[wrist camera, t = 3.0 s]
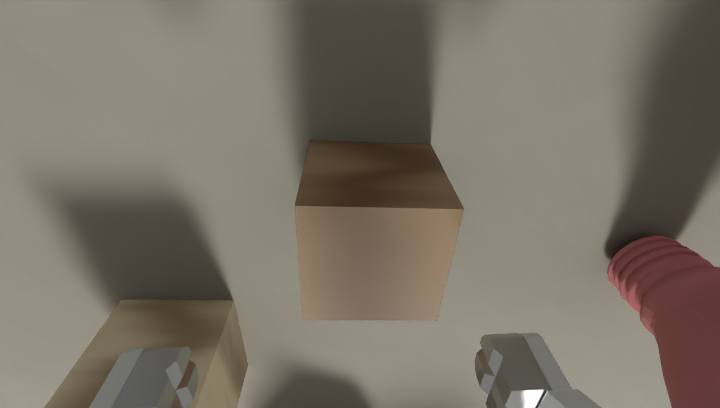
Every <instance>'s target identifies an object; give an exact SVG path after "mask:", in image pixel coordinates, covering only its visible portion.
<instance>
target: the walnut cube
mask: <svg viewBox="0 0 720 408" xmlns="http://www.w3.org/2000/svg"><path fill="white" fill-rule="evenodd" d="M463 212H464V208H463V206H462V204H461V202H460V200H459V198H458V196H457V194H456V193H455V191H454V189H453V187H452V185H451V183H450V181H449V179H448V177H447V175H446V173H445V171H444V169H443V167H442V165H441V163H440V161H439V159H438V158H437V156H436V154H435V152H434V150H433V148H432V146H431V144H404V143H370V142H336V141H310V143H309V148H308V152H307V156H306V160H305V164H304V169H303V173H302V177H301V181H300V185H299V190H298V194H297V198H296V202H295V218H296V232H297V247H298V262H299V276H300V291H301V305H302V320H434V321H437V318H438V313H439V309H440V305H441V301H442V297H443V293H444V289H445V285H446V281H447V277H448V273H449V269H450V265H451V261H452V256H453V252H454V248H455V244H456V240H457V236H458V232H459V228H460V224H461V220H462V216H463Z"/></svg>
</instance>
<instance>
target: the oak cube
mask: <svg viewBox="0 0 720 408" xmlns="http://www.w3.org/2000/svg"><path fill="white" fill-rule="evenodd" d="M176 346H188V347H189V349H190V351H191V353H192V354H191V357H190V359H189V360H191V361H192V362H194V363H196V366H197V368H198V384H197V390H196V393H195V396H194V399H193V400H192V401H191V402H190V403H189V404H188V405H187V406H186V407H185V408H237V405H238V401H239V397H240V393H241V390H242V386H243V382H244V378H245V374H246V370H247V367H248V363H247V358H246V354H245V349H244V345H243V340H242V335H241V331H240V326H239V322H238V317H237V313H236V308H235V303H234V300H121V301H120V302H119V304H118V305H117V306H116V308H115V309H114V311H113V312H112V313H111V315H110V316H109V318H108V319H107V321H106V322H105V323H104V325H103V326H102V328H101V329H100V330H99V332H98V333H97V335H96V336H95V337H94V339H93V340H92V342H91V343H90V344H89V346H88V347H87V349H86V350H85V351H84V353H83V354H82V356H81V357H80V358H79V360H78V361H77V363H76V364H75V365H74V367H73V368H72V370H71V371H70V372H69V374H68V375H67V377H66V378H65V379H64V381H63V382H62V384H61V385H60V386H59V388H58V389H57V391H56V392H55V393H54V395H53V396H52V398H51V399H50V400H49V402H48V403H47V405H46V406H45V407H44V408H89V407H90V405H91V404H92V402H93V400H94V399H95V397H96V395H97V394H98V392H99V390H100V388H101V387H102V385H103V383H104V382H105V380H106V378H107V377H108V375H109V373H110V372H111V370H112V368H113V366H114V365H115V363H116V361H117V360H118V358H119V356H120V355H121V353H122V352H124V351H125V350H126V349H127V348H133V347H176Z"/></svg>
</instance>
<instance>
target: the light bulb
mask: <svg viewBox="0 0 720 408" xmlns="http://www.w3.org/2000/svg"><path fill="white" fill-rule="evenodd" d="M607 274H608V278H609V281H610V282H611V283H612V284H613V285H614V286H615V287H616V288H617V289H618V290H619V291H620V294H621V296H622V297H623V299H624V300H625V301H627V302H628V303H629V305H630V306H631V307H632V308H633V309H634V310H636V311H638V312H640V319H641V322H642V323H643V325H644V326H645V328H646V329H647V330H648V331H649V332H651V333H652V334H653V335H654V336H655V339H656V341H657V344H658V349H659V354H660V360H661V366H662V371H663V377H664V381H665V384H666V388H667V391H668V395H669V399H670V402H671V406H672V408H720V267H714V266H713V265H712V264H711V263H710V262H709V261H707V260H705V259H704V258H702V257H701V256H700V255H699V254H697V253H696V252H694V251H692V250H690V249H689V248H687V247H685V246H682V245H681V244H680V243H678V242H677V241H676V240H674V239H673V238H670V237H666V236H650V237H645V238H642V239H639V240H636V241H634V242H632V243H630V244H628V245H627V246H625V247H624V248H622V249H621V250H619V251H618V253H617V254H616V255H615V256H614V257H613V258H612V260H611V262H610V264H609V266H608V271H607Z"/></svg>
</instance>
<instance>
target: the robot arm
mask: <svg viewBox="0 0 720 408" xmlns="http://www.w3.org/2000/svg"><path fill="white" fill-rule="evenodd" d="M480 344H481V347H482V349H481V350H479V351H478V352H477V354H476V357H475V371H476V376H477V379H478V382H479V385H480V387H481V388H482V389H483V390H484V391H485V392H486V393H487V394H488V397H487V401H486V405H487V408H601V407H600V406H599V405H597V404H596V403H595V402H594V401H592V400H591V399H590V398H588V397H587V396H586V395H585V394H583V393H582V392H581V391H579V390H578V389H572V388H571V386H570V384H569V383H568V381H567V379H566V377H565V376H564V374H563V372H562V371H561V369H560V367H559V366H558V364H557V362H556V360H555V359H554V357H553V355H552V354H551V352H550V350H549V349H548V347H547V345H546V343H545V342H544V340H543V338H542V337H541V336H540V335H539V334H538V333H521V334H518V333H509V334H491V335H484V336H483V337H482V338H481V341H480ZM191 354H192V353H191V351H190V349H189V347H188V346H176V347H133V348H127V349H126V350H125V351H124V352H122V353H121V355H120V356H119V358H118V360H117V361H116V363H115V365H114V366H113V368H112V370H111V372H110V373H109V375H108V377H107V378H106V380H105V382H104V383H103V385H102V387H101V388H100V390H99V392H98V394H97V395H96V397H95V399H94V400H93V402H92V404H91V405H90V407H89V408H185V407H186V406H187V405H188V404H189V403H190V402H191V401H192V400H193V399H194V396H195V393H196V390H197V384H198V368H197V366H196V363H194V362H192V361H191V360H189V359H190V357H191Z"/></svg>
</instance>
